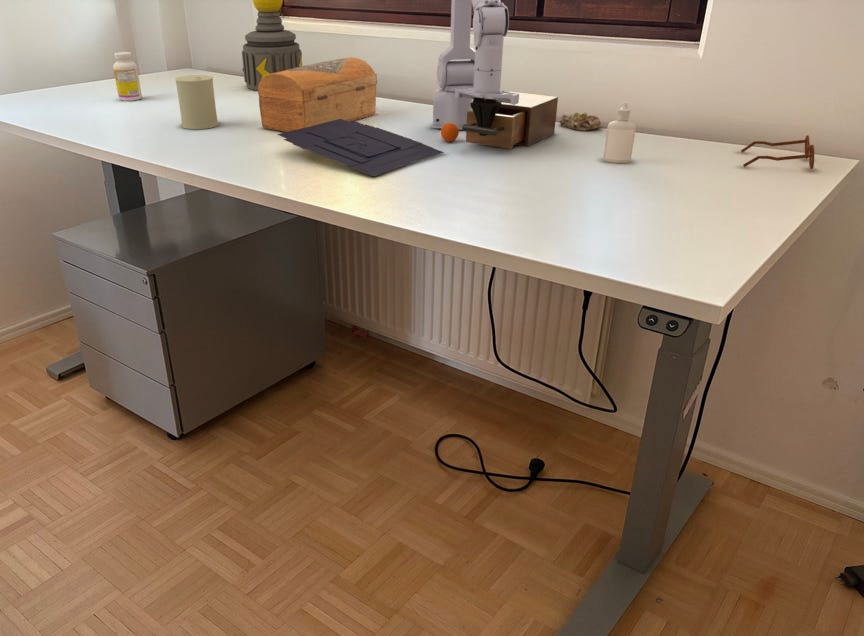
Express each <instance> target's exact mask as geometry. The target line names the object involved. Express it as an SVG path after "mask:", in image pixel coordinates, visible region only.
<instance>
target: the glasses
mask: <svg viewBox="0 0 864 636" xmlns="http://www.w3.org/2000/svg"><path fill="white" fill-rule="evenodd" d="M798 144H804V154H797V155H788V156H787V155H786V156H771V155H757V156H755V157H754V158H752V159H750V160H748V161H746V162H744V163H743V164H742V166H743V168H746V167H748V166H750V165H751V164H753V163H755V162H756V161H758V160H760V159H761V160H771V161H776V162H778V161H787V160H788V161H789V160H799V159H808V164H809V165H808V166H809V169H810V170H813V169H814V166H815V165H814V164H815V145H814V144H810V135H809V134H808V135H805V139H797V140H789V141H780V142H779V141H778V142H768V141H765V140H763V141H761V140H759V141H757V140H756V141H752V142H751V143H750V144H748V145H746V146H745V147H744V148H742V149H741V150H740V153H744V152H746V151H747V150H749V149H750V148H752V147H753V146H755V145H765V146H768V147H769V146H770V147H779V146H787V145H788V146H789V145H798Z"/></svg>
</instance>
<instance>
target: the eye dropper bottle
mask: <svg viewBox="0 0 864 636" xmlns="http://www.w3.org/2000/svg"><path fill="white" fill-rule="evenodd" d="M616 114H617V115H616V120H612V121H610V122H608V125H607V129H606V134H605V135H606V136H605V142H604V148H603V149H604V151H603V158H602V159H603V161H604V162H606V163H607V162H608V163H612V164H613V163H614V164H629V163H630V162H631V161H632V154H633V149H634V142H635V136H636V129H637V127H636V123H635V122H633V121H630V115H631V109H630V108H629V106H628V101H623V103H622V106H621V107H620V108H618V109H617V113H616Z"/></svg>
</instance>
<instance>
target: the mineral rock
mask: <svg viewBox="0 0 864 636" xmlns="http://www.w3.org/2000/svg"><path fill="white" fill-rule="evenodd" d="M559 124H560V125H561V126H562V127H563V128H564V127H565V128H569V129H572V130H574V131H584V132H586V131H589V130H596V129H597V128H600V127H601V125H602V122H601V120H600V118H599V117H598V116H595V115H588V113H587V112H583V113H579V112H574V113H573V114H562V115H561V117H560V120H559Z"/></svg>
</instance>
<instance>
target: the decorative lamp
mask: <svg viewBox="0 0 864 636" xmlns="http://www.w3.org/2000/svg"><path fill="white" fill-rule="evenodd" d="M283 2H284V0H252V4H253V6H254V8H255V9H256V10H257V18H256V26H255V28H254V29H255V30H253V31H249V32H248V33H246V34H245V35H244V40H245V41H246V43H244V44H243V45H242V51H241V55H242V56H241V57H242V72H243V78H244V79H243V80H244V83H246V84H245V85H246V87H247V89H249V90H251V91H255V92H258V85H259V83H260V81H261V80H262V79H263V78H264V77H265V76H267V75H269V74H272V73H276V72H281V71H285V70H290V69H293V68H297V67H302V66H303V52H302V49H300V44H299V43H298V42H296V41H295V40H296V39H297V35H296V33H294V32H292V31H290V30H286V29H285V26H284V25H283V24H282V23H283V20H282V18H281V13H280V10H281V8H282V7H283Z"/></svg>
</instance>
